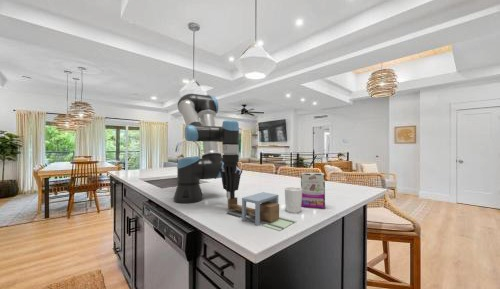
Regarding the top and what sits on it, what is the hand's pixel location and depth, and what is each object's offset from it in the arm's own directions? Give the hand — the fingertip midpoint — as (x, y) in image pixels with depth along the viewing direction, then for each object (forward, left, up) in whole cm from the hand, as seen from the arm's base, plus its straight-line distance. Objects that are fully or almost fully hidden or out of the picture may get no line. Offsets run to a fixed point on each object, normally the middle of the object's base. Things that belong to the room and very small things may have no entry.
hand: (230, 205), depth 99 cm
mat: (+27, 0, -2) cm, 27 cm away
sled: (+12, 0, -2) cm, 13 cm away
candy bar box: (+26, +30, -2) cm, 40 cm away
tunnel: (+17, 0, -2) cm, 17 cm away
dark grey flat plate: (+6, 0, -2) cm, 7 cm away
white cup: (+22, +18, -2) cm, 29 cm away
